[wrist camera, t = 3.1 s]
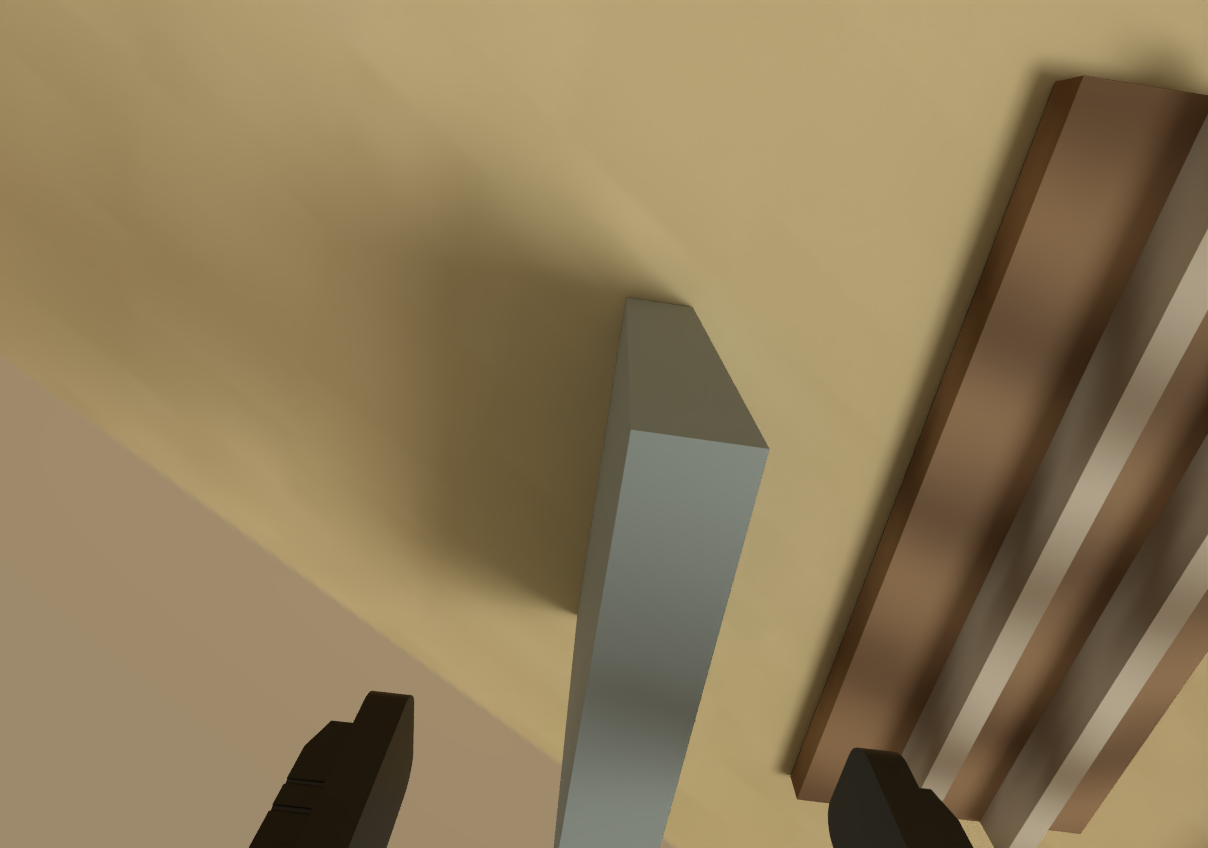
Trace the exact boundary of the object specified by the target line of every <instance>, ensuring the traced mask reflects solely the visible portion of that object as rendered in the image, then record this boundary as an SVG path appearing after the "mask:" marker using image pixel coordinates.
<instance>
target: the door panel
mask: <svg viewBox="0 0 1208 848" xmlns="http://www.w3.org/2000/svg"><path fill="white" fill-rule="evenodd" d="M768 452H769V447H768V445H767V444H766V442H765V440H764V438H763V436H762V434H761V433H760V431H759V429H758V427H757V425H756V423H755V421H754V420H753V418H752V416H751V414H750V412H749V410H748V408H747V407H746V405H745V403H744V401H743V399H742V397H741V396H740V394H739V392H738V390H737V388H736V386H735V384H734V383H733V381H732V379H731V377H730V375H729V373H728V372H727V370H726V368H725V366H724V364H723V362H722V360H721V359H720V357H719V355H718V353H717V351H716V349H715V347H714V346H713V344H712V342H711V340H710V338H709V336H708V335H707V333H706V331H705V329H704V327H703V325H702V323H701V322H700V320H699V318H698V316H697V314H696V312H695V311H694V309H693V307H688V306H681V305H674V304H667V303H661V302H654V301H647V300H640V299H633V298H626V303H625V309H624V316H623V322H622V329H621V335H620V342H619V348H618V355H617V361H616V368H615V374H614V381H613V387H612V394H611V400H610V407H609V413H608V420H607V426H606V433H605V439H604V446H603V452H602V459H601V465H600V472H599V478H598V485H597V491H596V498H595V504H594V511H593V517H592V524H591V530H590V537H589V543H588V550H587V556H586V562H585V569H584V575H583V582H582V588H581V595H580V601H579V608H578V614H577V624H576V633H575V643H574V653H573V663H572V673H571V683H570V692H569V702H568V712H567V722H566V732H565V741H564V751H563V761H562V771H561V781H560V791H559V801H558V811H557V821H556V830H555V840H554V848H660V845H661V842H662V838H663V834H664V831H665V827H666V824H667V820H668V816H669V813H670V809H671V805H672V802H673V798H674V794H675V791H676V787H677V784H678V780H679V776H680V773H681V769H682V765H683V762H684V758H685V754H686V751H687V747H688V744H689V740H690V736H691V733H692V729H693V725H694V722H695V718H696V714H697V711H698V707H699V703H700V700H701V696H702V693H703V689H704V685H705V682H706V678H707V674H708V671H709V667H710V663H711V660H712V656H713V653H714V649H715V645H716V642H717V638H718V634H719V631H720V627H721V623H722V620H723V616H724V613H725V609H726V605H727V602H728V598H729V594H730V591H731V587H732V583H733V580H734V576H735V573H736V569H737V565H738V562H739V558H740V554H741V551H742V547H743V543H744V540H745V536H746V532H747V529H748V525H749V522H750V518H751V514H752V511H753V507H754V503H755V500H756V496H757V492H758V489H759V485H760V482H761V478H762V474H763V471H764V467H765V463H766V460H767V456H768Z"/></svg>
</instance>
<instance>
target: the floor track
mask: <svg viewBox="0 0 1208 848" xmlns="http://www.w3.org/2000/svg"><path fill="white" fill-rule="evenodd" d="M1207 652H1208V96H1207V95H1201V94H1195V93H1189V92H1183V91H1176V90H1170V89H1164V88H1158V87H1151V86H1145V85H1139V84H1133V83H1126V82H1120V81H1114V80H1108V79H1102V78H1095V77H1089V76H1080V77H1075V78H1071V79H1066V80H1061V81H1057V82H1055V85H1054V87H1053V90H1052V92H1051V95H1050V98H1049V100H1048V103H1047V106H1046V108H1045V111H1044V113H1043V116H1042V119H1041V121H1040V124H1039V127H1038V129H1037V132H1036V134H1035V137H1034V140H1033V142H1032V145H1031V148H1030V150H1029V153H1028V155H1027V158H1026V161H1025V163H1024V166H1023V169H1022V171H1021V174H1020V176H1019V179H1018V182H1017V184H1016V187H1015V189H1014V192H1013V195H1012V197H1011V200H1010V203H1009V205H1008V208H1007V210H1006V213H1005V216H1004V218H1003V221H1002V224H1001V226H1000V229H999V231H998V234H997V237H996V239H995V242H994V245H993V247H992V250H991V252H990V255H989V258H988V260H987V263H986V266H985V268H984V271H983V273H982V276H981V279H980V281H979V284H978V286H977V289H976V292H975V294H974V297H973V300H972V302H971V305H970V307H969V310H968V313H967V315H966V318H965V321H964V323H963V326H962V328H961V331H960V334H959V336H958V339H957V342H956V344H955V347H954V349H953V352H952V355H951V357H950V360H949V362H948V365H947V368H946V370H945V373H944V376H943V378H942V381H941V383H940V386H939V389H938V391H937V394H936V397H935V399H934V402H933V404H932V407H931V410H930V412H929V415H928V418H927V420H926V423H925V425H924V428H923V431H922V433H921V436H920V439H919V441H918V444H917V446H916V449H915V452H914V454H913V457H912V459H911V462H910V465H909V467H908V470H907V473H906V475H905V478H904V480H903V483H902V486H901V488H900V491H899V494H898V496H897V499H896V501H895V504H894V507H893V509H892V512H891V515H890V517H889V520H888V522H887V525H886V528H885V530H884V533H883V536H882V538H881V541H880V543H879V546H878V549H877V551H876V554H875V556H874V559H873V562H872V564H871V567H870V570H869V572H868V575H867V577H866V580H865V583H864V585H863V588H862V591H861V593H860V596H859V598H858V601H857V604H856V606H855V609H854V612H853V614H852V617H851V619H850V622H849V625H848V627H847V630H846V633H845V635H844V638H843V640H842V643H841V646H840V648H839V651H838V653H837V656H836V659H835V661H834V664H833V667H832V669H831V672H830V674H829V677H828V680H827V682H826V685H825V688H824V690H823V693H822V695H821V698H820V701H819V703H818V706H817V709H816V711H815V714H814V716H813V719H812V722H811V724H810V727H809V730H808V732H807V735H806V737H805V740H804V743H803V745H802V748H801V750H800V753H799V756H798V758H797V761H796V764H795V766H794V769H793V771H792V774H791V780H792V783H793V787H794V790H795V794H796V797H797V799H799V800H807V801H815V802H823V803H830V800H831V797H832V795H833V792H834V790H835V788H836V785H837V783H838V780H839V778H840V775H841V773H842V771H843V768H844V766H845V763H846V761H847V758H848V756H849V754H850V752H851V750H852V749H853V748H856V747H858V748H867V749H876V750H885V751H894V752H897V753H899V754H900V755H901V756H903V758H904V759H905V761H906V762H907V764H908V766H909V768H910V770H911V772H912V774H913V776H914V778H915V780H916V782H917V784H918V786H919V788H926V789H931V790H932V791H933V792H934V793H935V794H936V795H937V796H938V797H939V799H940V800H941V801H942V802H943V803H944V804H945V805H946V806H947V808H948V809H949V810H950V811H951V812H952V813H953V814H954V815H955V817H956V818H957V819H962V820H971V821H979V822H980V823H981V825H982V826H983V828H984V830H985V832H986V834H987V835H988V837H989V839H990V841H991V843H992V844H993V846H994V848H1037V846H1038V845H1039V843H1040V842H1041V840H1042V839H1043V837H1044V836H1045V834H1046V833H1047V831H1048V830H1052V831H1061V832H1069V833H1077V834H1081V832H1082V831H1083V830H1084V828H1085V827H1086V825H1087V824H1088V822H1089V821H1090V820H1091V818H1092V817H1093V815H1094V814H1095V812H1096V811H1097V810H1098V808H1099V807H1100V805H1101V804H1102V802H1103V801H1104V799H1105V798H1106V797H1107V795H1108V794H1109V792H1110V791H1111V789H1112V788H1113V787H1114V785H1115V784H1116V782H1117V781H1118V779H1119V778H1120V776H1121V775H1122V774H1123V772H1124V771H1125V769H1126V768H1127V766H1128V765H1129V764H1130V762H1131V761H1132V759H1133V758H1134V756H1135V755H1136V754H1137V752H1138V751H1139V749H1140V748H1141V746H1142V745H1143V743H1144V742H1145V741H1146V739H1147V738H1148V736H1149V735H1150V733H1151V732H1152V731H1153V729H1154V728H1155V726H1156V725H1157V723H1158V722H1159V721H1160V719H1161V718H1162V716H1163V715H1164V713H1165V712H1166V710H1167V709H1168V708H1169V706H1170V705H1171V703H1172V702H1173V700H1174V699H1175V698H1176V696H1177V695H1178V693H1179V692H1180V690H1181V689H1182V688H1183V686H1184V685H1185V683H1186V682H1187V680H1188V679H1189V677H1190V676H1191V675H1192V673H1193V672H1194V670H1195V669H1196V667H1197V666H1198V665H1199V663H1200V662H1201V660H1202V659H1203V657H1204V656H1205V655H1206V653H1207Z"/></svg>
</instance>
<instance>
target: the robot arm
mask: <svg viewBox="0 0 1208 848" xmlns="http://www.w3.org/2000/svg"><path fill="white" fill-rule="evenodd" d="M413 732H414V697H413V696H412V695H405V694H395V693H387V692H378V691H370V692H369V693H368V695H367V696H366V698H365V700H364V701H363V704H362V706H361V708H360V710H359V712H358V714H357V716H356V718H355V720H354V722H353V723H348V722H339V721H331V722H329V723H328V724H327V725H326V726H325V727H324V728H323V729H322V730H321V731H320V732H319V733H318V734H317V735H316V736H315V737H314V738H313V739H311V740H310V741H309V742H308V743H307V744H306V745H305V746H304V748H303V750H302V751H301V753H300V755H299V757H298V759H297V761H296V762H295V764H294V766H293V768H292V770H291V772H290V773H289V775H288V777H287V781H286V784H284V785H283V786H282V788H281V790H280V792H279V794H278V795H277V797H276V799H275V801H274V803H273V806H272V809H271V811H269V812H268V813H267V815H266V817H265V819H264V821H263V823H262V824H261V826H260V828H259V830H258V832H257V834H256V835H255V837H254V839H253V841H252V843H251V844H250V847H249V848H386V847H387V845H388V842H389V839H390V836H391V833H392V830H393V827H394V824H395V821H396V818H397V816H398V812H399V810H400V807H401V804H402V801H403V798H404V795H405V792H406V789H407V785H408V781H409V777H410V772H411V767H412V760H413ZM828 825H829V833H830V837H831V841H832V845H833V848H973V846H972V844H971V843H970V841H969V839H968V837H967V835H966V833H965V831H964V830H963V828H962V826H961V824H960V822H959V820H958V819H957V818H956V817H955V815H954V814H953V813H952V812H951V811H950V810H949V809H948V808H947V806H946V805H945V804H944V803H943V802H942V801H941V800H940V799H939V797H938V796H937V795H936V794H935V793H934V792H933V791H932V790H931V789H926V788H919V786H918V784H917V782H916V780H915V778H914V776H913V774H912V772H911V770H910V768H909V766H908V764H907V762H906V761H905V759H904V758H903V756H901V755H900V754H899V753H897V752H894V751H885V750H876V749H867V748H858V747H856V748H853V749H852V750H851V752H850V754H849V756H848V758H847V761H846V763H845V766H844V768H843V771H842V773H841V775H840V778H839V780H838V783H837V785H836V788H835V790H834V792H833V795H832V797H831V800H830V803H829V809H828Z"/></svg>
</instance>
